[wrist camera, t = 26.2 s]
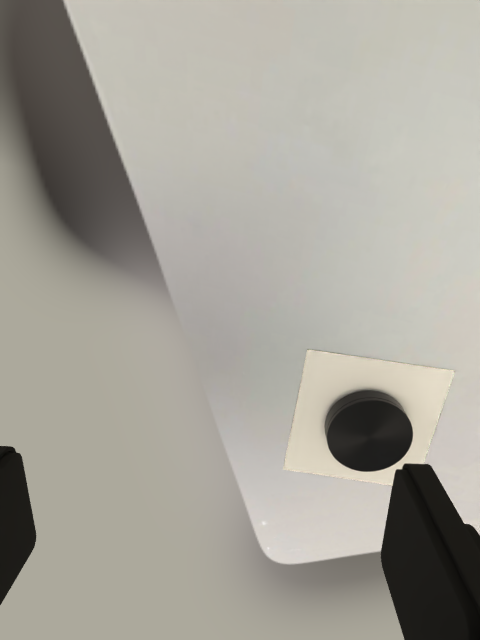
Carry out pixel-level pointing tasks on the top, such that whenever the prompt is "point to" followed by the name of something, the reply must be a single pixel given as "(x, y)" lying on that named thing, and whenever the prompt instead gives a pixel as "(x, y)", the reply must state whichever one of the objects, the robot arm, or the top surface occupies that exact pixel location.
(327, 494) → the top surface
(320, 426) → the cream paper sheet
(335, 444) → the jar lid
